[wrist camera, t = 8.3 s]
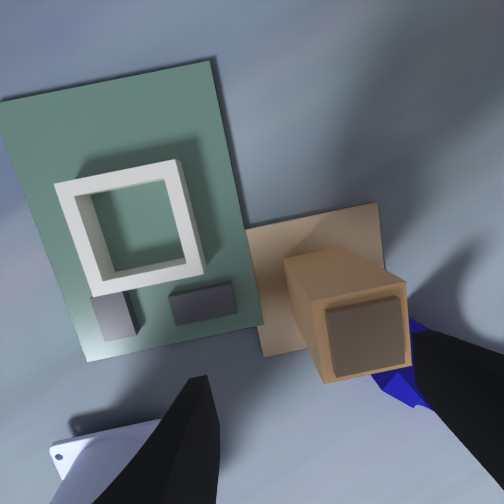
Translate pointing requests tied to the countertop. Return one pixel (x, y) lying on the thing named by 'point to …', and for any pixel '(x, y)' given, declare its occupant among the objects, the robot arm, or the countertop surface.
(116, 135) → the header board
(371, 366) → the plug
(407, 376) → the cable clip
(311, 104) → the countertop surface
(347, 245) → the cork pad
